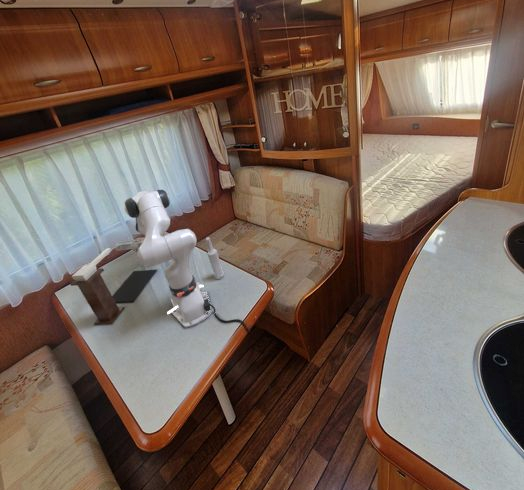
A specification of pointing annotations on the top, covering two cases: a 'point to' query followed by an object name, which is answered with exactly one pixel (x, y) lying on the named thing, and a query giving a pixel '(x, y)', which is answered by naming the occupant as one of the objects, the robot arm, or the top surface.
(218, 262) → the bottle
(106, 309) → the stand
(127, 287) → the counter mat
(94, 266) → the brush
